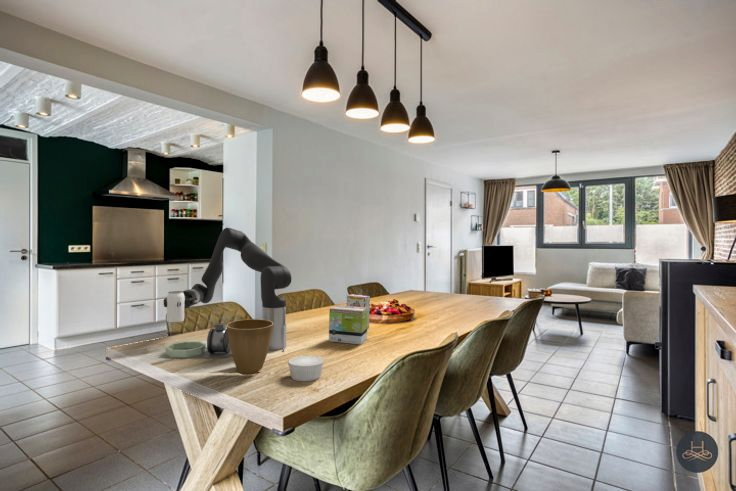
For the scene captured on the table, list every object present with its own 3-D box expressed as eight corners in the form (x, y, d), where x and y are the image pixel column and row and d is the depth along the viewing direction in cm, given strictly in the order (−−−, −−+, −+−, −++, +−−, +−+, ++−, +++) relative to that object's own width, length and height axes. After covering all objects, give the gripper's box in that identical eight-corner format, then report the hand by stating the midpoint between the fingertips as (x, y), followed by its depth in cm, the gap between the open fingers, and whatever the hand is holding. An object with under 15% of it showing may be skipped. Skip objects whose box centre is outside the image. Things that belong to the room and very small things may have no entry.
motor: (232, 349, 154) (233, 321, 154) (225, 355, 145) (226, 326, 145) (214, 349, 154) (215, 321, 154) (206, 355, 145) (207, 326, 145)
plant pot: (218, 370, 132) (218, 322, 132) (258, 361, 142) (259, 317, 142) (239, 382, 121) (239, 330, 121) (281, 372, 132) (282, 324, 131)
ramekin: (285, 373, 131) (285, 357, 131) (318, 369, 135) (318, 354, 135) (291, 384, 120) (291, 367, 120) (327, 380, 124) (327, 364, 124)
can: (177, 323, 157) (178, 293, 157) (162, 322, 158) (163, 292, 158) (187, 320, 164) (188, 291, 164) (173, 319, 165) (173, 290, 165)
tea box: (328, 342, 171) (328, 308, 171) (335, 337, 181) (336, 304, 181) (361, 345, 168) (362, 310, 168) (367, 339, 178) (368, 306, 177)
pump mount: (237, 349, 157) (237, 341, 157) (226, 360, 143) (226, 350, 143) (175, 349, 156) (175, 341, 156) (158, 360, 142) (158, 350, 142)
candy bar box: (345, 327, 202) (346, 295, 201) (351, 325, 206) (351, 294, 206) (364, 330, 196) (364, 297, 195) (369, 328, 200) (370, 296, 200)
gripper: (171, 289, 175) (152, 295, 158) (204, 289, 176) (189, 295, 159) (171, 306, 175) (152, 314, 158) (204, 306, 176) (189, 313, 159)
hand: (171, 304), depth 158 cm, fingers closed on can, 4 cm apart
